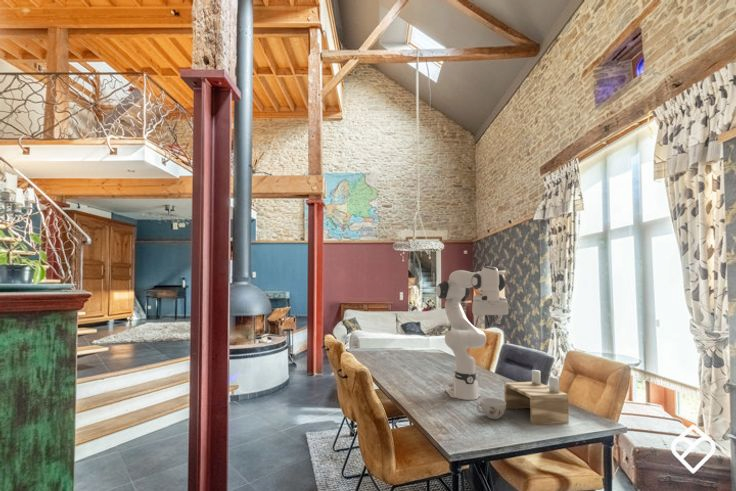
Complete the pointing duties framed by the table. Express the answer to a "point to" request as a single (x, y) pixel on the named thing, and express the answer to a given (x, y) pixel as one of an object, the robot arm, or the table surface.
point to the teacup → (492, 407)
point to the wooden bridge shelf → (537, 402)
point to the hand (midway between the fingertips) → (490, 323)
